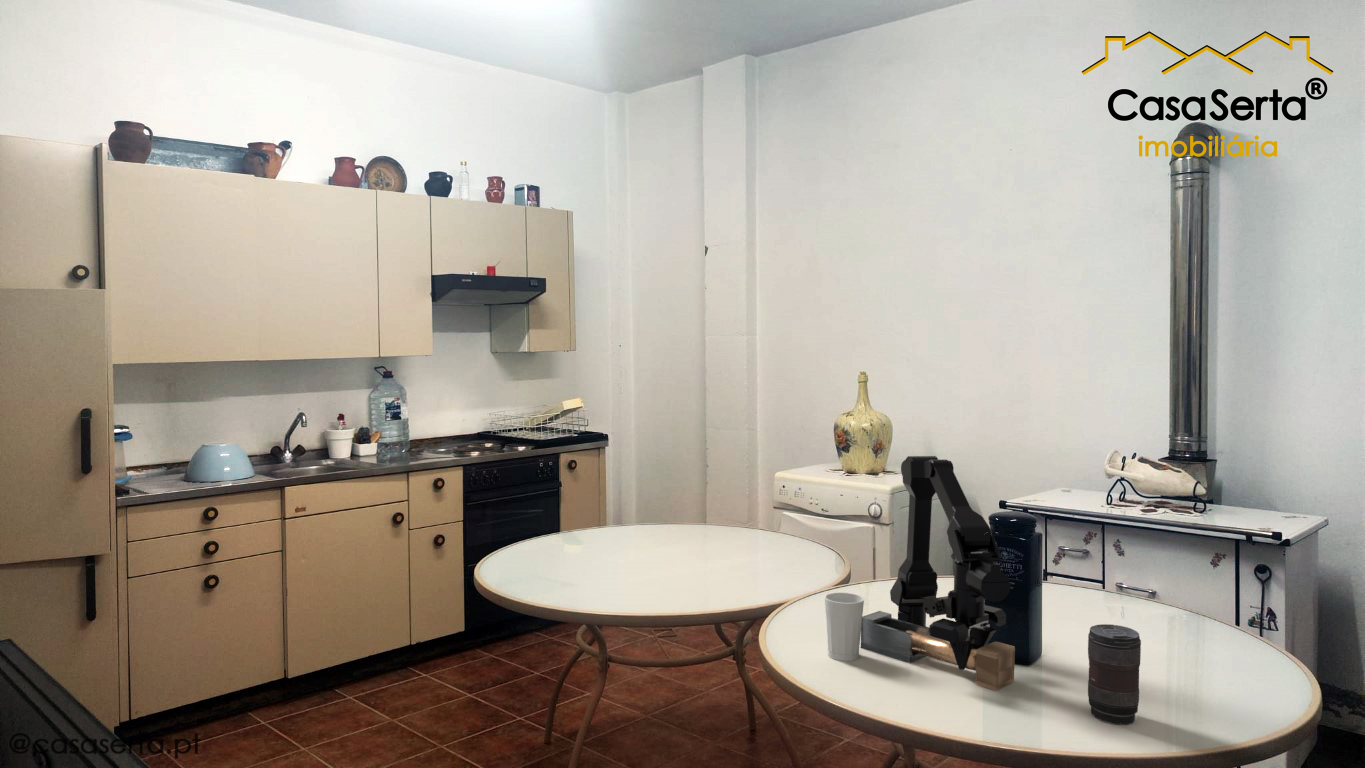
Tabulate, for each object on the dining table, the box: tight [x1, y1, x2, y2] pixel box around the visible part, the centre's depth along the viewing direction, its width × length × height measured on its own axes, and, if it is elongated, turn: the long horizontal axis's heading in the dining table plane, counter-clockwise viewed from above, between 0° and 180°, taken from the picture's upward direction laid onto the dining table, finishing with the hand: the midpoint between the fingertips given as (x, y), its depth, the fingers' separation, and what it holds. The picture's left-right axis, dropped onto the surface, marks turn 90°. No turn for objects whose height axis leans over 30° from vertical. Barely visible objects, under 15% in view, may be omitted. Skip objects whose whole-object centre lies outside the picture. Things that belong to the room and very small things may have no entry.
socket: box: [975, 640, 1016, 691], centre depth 165 cm, size 7×4×7 cm, turn 132°
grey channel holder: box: [860, 610, 929, 664], centre depth 181 cm, size 12×7×7 cm, turn 42°
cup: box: [824, 592, 865, 662], centre depth 179 cm, size 8×8×12 cm
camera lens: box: [1087, 623, 1142, 725], centre depth 150 cm, size 8×8×15 cm
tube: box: [906, 630, 976, 672], centre depth 172 cm, size 19×4×4 cm, turn 42°
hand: (967, 666), depth 169 cm, fingers closed on tube, 4 cm apart
